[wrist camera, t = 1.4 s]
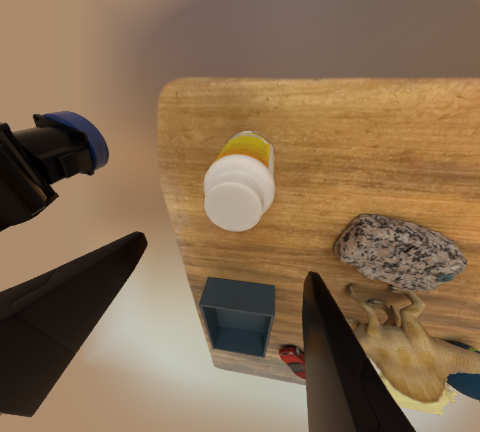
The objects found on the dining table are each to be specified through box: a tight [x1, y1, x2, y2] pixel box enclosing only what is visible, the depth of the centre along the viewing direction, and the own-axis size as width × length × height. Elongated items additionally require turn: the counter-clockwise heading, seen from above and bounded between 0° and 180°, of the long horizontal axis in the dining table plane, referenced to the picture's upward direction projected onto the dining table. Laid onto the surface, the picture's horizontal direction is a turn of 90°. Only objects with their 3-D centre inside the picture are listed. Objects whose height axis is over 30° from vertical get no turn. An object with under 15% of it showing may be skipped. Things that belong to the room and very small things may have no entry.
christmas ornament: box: [447, 342, 480, 401], centre depth 33 cm, size 8×8×10 cm
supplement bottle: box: [204, 131, 275, 232], centre depth 16 cm, size 6×6×10 cm
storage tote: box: [199, 277, 275, 358], centre depth 39 cm, size 22×13×6 cm, turn 0°
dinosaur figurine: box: [345, 284, 480, 404], centre depth 26 cm, size 8×26×13 cm, turn 97°
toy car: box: [279, 347, 306, 379], centre depth 51 cm, size 6×15×5 cm, turn 44°
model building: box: [379, 371, 457, 415], centre depth 47 cm, size 25×14×7 cm, turn 88°
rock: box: [333, 214, 467, 292], centre depth 23 cm, size 13×9×4 cm
